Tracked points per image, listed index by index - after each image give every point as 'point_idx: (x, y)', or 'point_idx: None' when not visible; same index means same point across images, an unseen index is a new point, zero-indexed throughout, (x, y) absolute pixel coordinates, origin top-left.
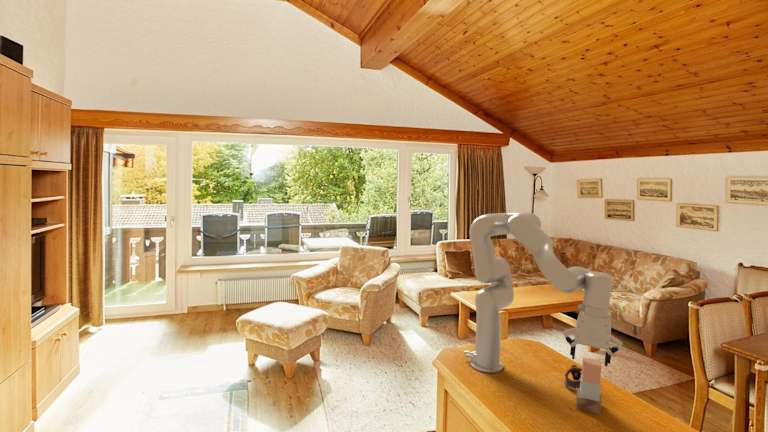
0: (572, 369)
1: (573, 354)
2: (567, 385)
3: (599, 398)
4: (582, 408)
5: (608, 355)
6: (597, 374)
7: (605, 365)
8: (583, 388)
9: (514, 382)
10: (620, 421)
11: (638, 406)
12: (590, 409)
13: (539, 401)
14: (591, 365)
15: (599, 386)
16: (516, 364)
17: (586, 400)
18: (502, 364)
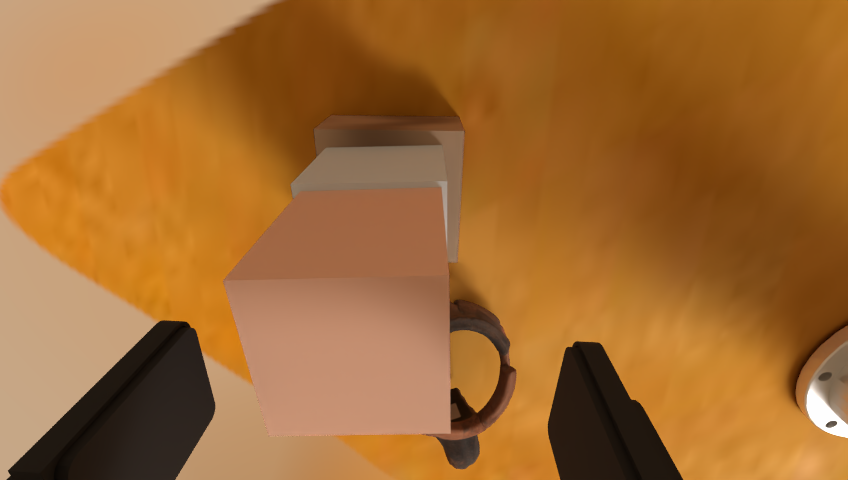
0: (479, 418)
1: (610, 390)
2: (495, 318)
3: (322, 152)
4: (425, 117)
5: (20, 465)
6: (300, 228)
7: (181, 329)
8: (428, 164)
9: (771, 260)
10: (225, 86)
11: (171, 287)
12: (382, 119)
13: (667, 102)
14: (351, 272)
15: (305, 179)
16: (710, 429)
17: (405, 129)
18: (809, 393)
